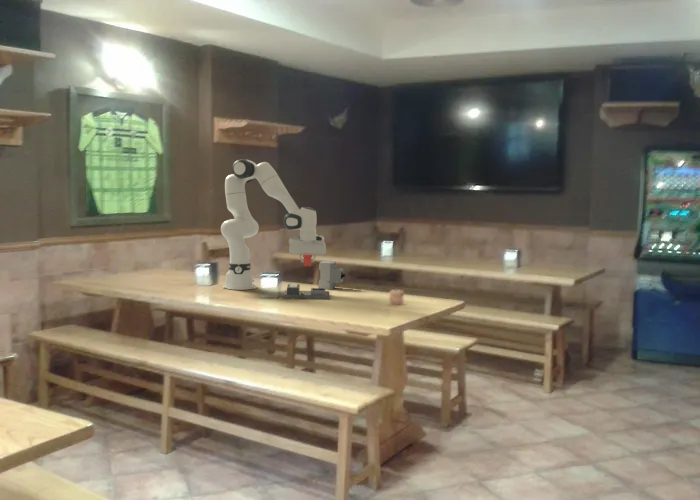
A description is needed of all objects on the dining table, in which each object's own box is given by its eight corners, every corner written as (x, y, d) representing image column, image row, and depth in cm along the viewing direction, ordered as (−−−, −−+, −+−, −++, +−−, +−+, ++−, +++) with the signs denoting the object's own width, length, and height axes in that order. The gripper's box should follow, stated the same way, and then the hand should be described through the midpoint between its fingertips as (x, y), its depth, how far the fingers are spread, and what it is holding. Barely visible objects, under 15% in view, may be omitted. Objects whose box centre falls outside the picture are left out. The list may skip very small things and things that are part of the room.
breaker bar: (290, 289, 366) (290, 283, 366) (297, 289, 367) (297, 283, 366) (289, 292, 356) (289, 286, 355) (296, 292, 356) (296, 286, 355)
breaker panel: (284, 294, 368) (284, 283, 368) (329, 294, 369) (329, 284, 369) (283, 298, 354) (283, 287, 354) (329, 299, 355) (329, 288, 355)
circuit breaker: (342, 290, 387) (343, 263, 386) (318, 288, 390) (318, 262, 388) (345, 288, 394) (346, 262, 393) (321, 286, 397) (322, 261, 396)
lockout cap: (302, 264, 376) (303, 254, 375) (312, 265, 376) (312, 254, 375) (302, 266, 371) (302, 255, 370) (311, 266, 371) (312, 255, 370)
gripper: (288, 236, 368) (288, 262, 369) (326, 238, 369) (326, 263, 370) (289, 235, 374) (288, 261, 376) (326, 237, 375) (325, 262, 377)
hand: (307, 262), depth 373 cm, fingers closed on lockout cap, 4 cm apart
